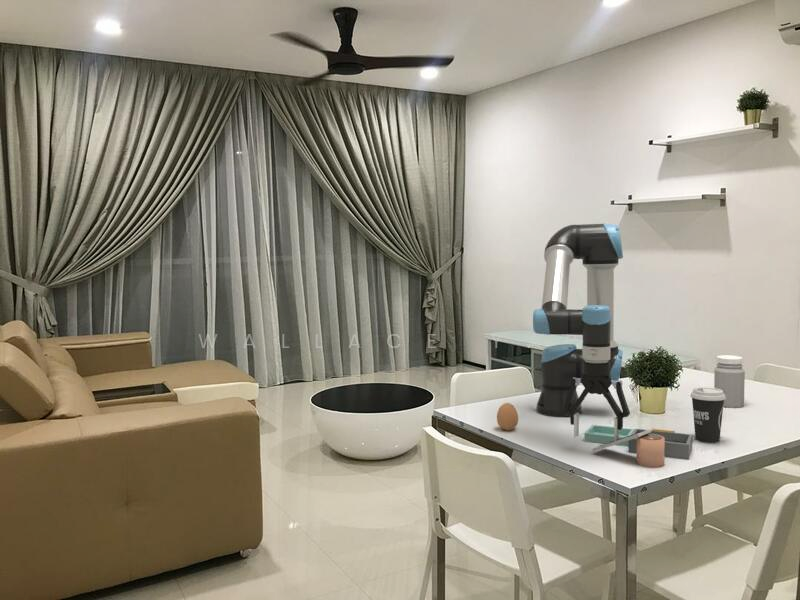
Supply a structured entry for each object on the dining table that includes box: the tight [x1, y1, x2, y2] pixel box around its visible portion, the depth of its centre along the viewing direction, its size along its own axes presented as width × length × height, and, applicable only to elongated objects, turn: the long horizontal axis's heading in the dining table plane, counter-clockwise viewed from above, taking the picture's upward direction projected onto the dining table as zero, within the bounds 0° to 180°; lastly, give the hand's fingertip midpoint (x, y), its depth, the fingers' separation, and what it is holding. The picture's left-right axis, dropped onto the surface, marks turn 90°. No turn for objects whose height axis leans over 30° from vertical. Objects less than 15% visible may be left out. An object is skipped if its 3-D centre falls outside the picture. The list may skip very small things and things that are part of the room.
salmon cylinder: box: [635, 434, 665, 468], centre depth 177 cm, size 7×7×7 cm
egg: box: [496, 402, 519, 431], centre depth 211 cm, size 7×7×9 cm
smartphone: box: [591, 428, 652, 452], centre depth 183 cm, size 7×15×1 cm, turn 43°
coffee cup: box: [689, 386, 726, 444], centre depth 196 cm, size 10×10×15 cm
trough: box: [583, 424, 635, 448], centre depth 199 cm, size 13×11×2 cm
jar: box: [713, 354, 746, 409], centre depth 236 cm, size 10×10×18 cm
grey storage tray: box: [628, 427, 694, 460], centre depth 188 cm, size 16×11×5 cm
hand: (596, 438), depth 187 cm, fingers open, 10 cm apart
